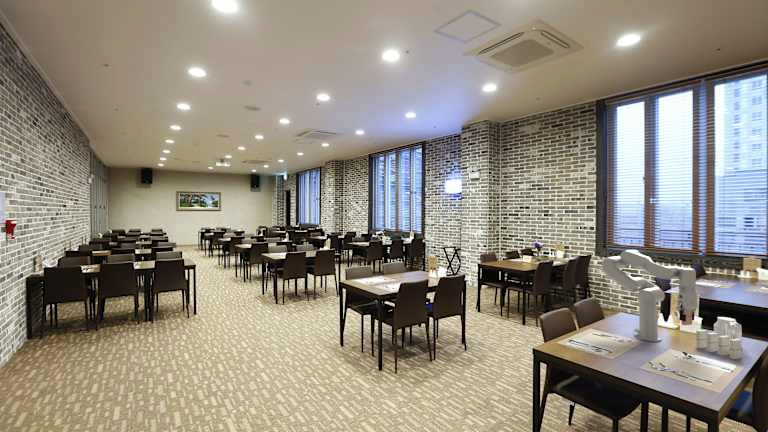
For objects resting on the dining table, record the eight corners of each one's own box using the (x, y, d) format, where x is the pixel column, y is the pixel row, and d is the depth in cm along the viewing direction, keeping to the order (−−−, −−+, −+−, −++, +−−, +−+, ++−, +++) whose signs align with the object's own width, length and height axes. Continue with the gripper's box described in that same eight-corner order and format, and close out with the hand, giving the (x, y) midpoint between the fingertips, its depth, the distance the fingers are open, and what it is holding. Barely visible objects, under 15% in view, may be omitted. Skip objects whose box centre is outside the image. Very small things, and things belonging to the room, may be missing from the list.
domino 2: (696, 347, 214) (696, 330, 214) (703, 346, 216) (703, 329, 216) (699, 348, 212) (699, 331, 212) (707, 347, 214) (707, 330, 214)
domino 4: (718, 354, 204) (718, 336, 204) (725, 353, 205) (725, 335, 205) (721, 355, 202) (721, 337, 202) (729, 354, 203) (729, 336, 203)
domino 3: (706, 350, 209) (706, 333, 209) (714, 349, 211) (714, 332, 211) (710, 351, 207) (710, 334, 207) (718, 350, 209) (717, 333, 209)
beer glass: (745, 352, 207) (745, 325, 207) (730, 351, 208) (730, 325, 208) (735, 347, 214) (735, 322, 214) (722, 346, 215) (722, 321, 215)
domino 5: (729, 357, 198) (729, 339, 198) (737, 356, 200) (737, 338, 200) (733, 359, 196) (733, 340, 196) (741, 357, 198) (741, 339, 198)
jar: (712, 342, 222) (712, 318, 222) (715, 339, 228) (715, 315, 228) (738, 347, 213) (738, 322, 213) (740, 344, 219) (740, 319, 219)
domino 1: (681, 324, 212) (681, 307, 212) (688, 323, 213) (689, 306, 213) (684, 325, 210) (685, 308, 210) (692, 324, 212) (692, 307, 212)
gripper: (683, 291, 205) (683, 323, 206) (704, 289, 210) (704, 320, 210) (669, 288, 213) (669, 319, 213) (690, 287, 218) (690, 317, 218)
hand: (686, 319), depth 212 cm, fingers closed on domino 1, 6 cm apart
